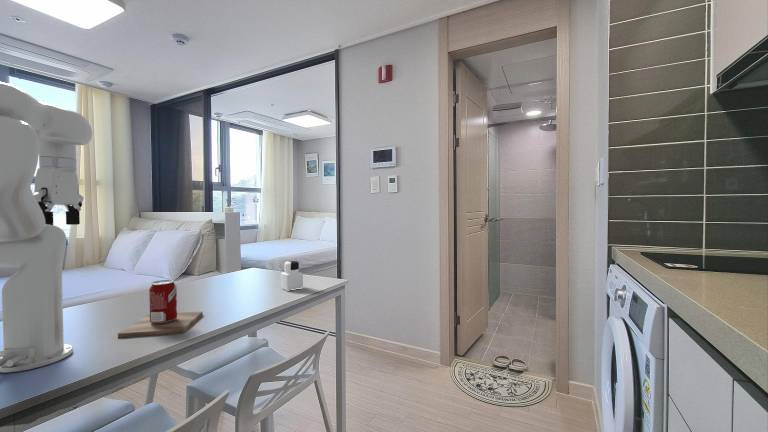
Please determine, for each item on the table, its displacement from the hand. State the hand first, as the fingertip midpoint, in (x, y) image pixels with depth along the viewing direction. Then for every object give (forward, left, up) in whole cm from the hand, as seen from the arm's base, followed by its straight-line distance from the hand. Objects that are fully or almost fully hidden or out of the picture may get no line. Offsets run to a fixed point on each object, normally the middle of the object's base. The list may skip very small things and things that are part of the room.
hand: (60, 225), depth 93 cm
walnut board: (-1, -27, -30) cm, 40 cm away
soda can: (-1, -27, -29) cm, 40 cm away
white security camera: (+37, -61, -31) cm, 77 cm away
